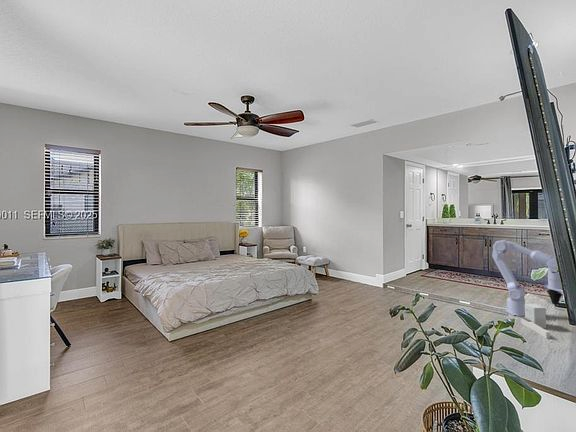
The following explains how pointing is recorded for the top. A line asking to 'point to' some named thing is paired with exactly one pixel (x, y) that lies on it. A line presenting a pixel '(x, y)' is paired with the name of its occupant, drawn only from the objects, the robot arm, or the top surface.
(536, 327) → the light grey long bar
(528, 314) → the small box
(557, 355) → the top surface
